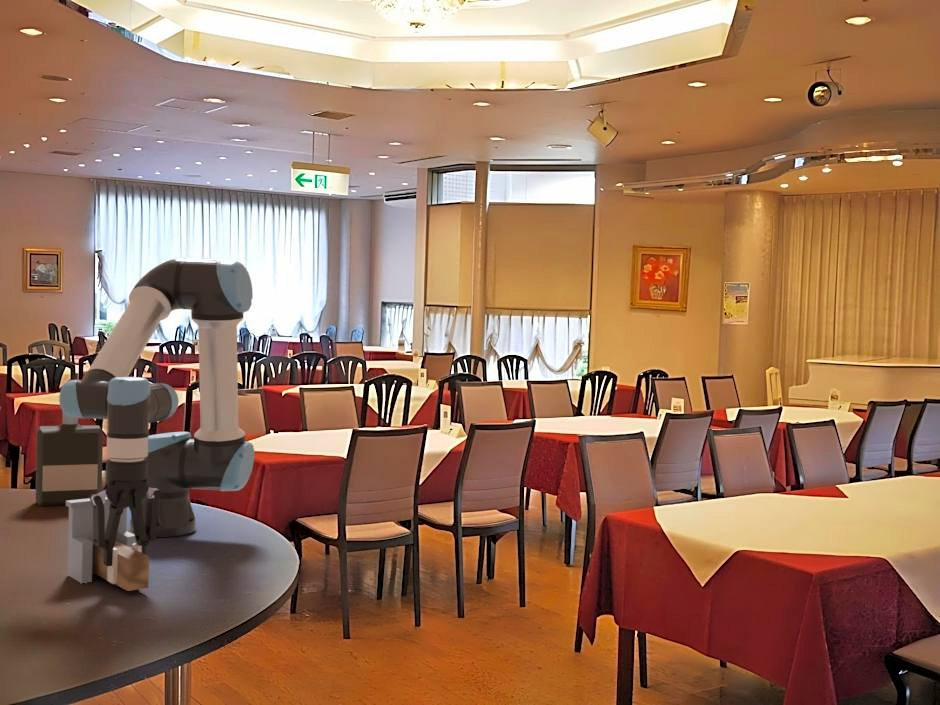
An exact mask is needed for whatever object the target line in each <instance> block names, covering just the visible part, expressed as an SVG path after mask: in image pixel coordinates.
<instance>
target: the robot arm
mask: <svg viewBox="0 0 940 705" xmlns="http://www.w3.org/2000/svg"><path fill="white" fill-rule="evenodd" d="M253 296H254V295H253V284H252V280H251V277H250V274H249V271H248V270H247V267H245V265H244V264H243V263H241V262H240V261H238V260H237V261H236V260H229V259H223V258H220V259H218V258H217V259H214V258H211V259H210V258H207V259H205V258H184V257H182V258H181V257H179V258H173V259H169V260H166V261H164V262H162V263H161V264H158V265H157V266H155V267H153V268H152V269H151V270H149V271H148V272H147V273H145V275H143V276H142V277H141V278H140V279H139V280H138V281H137V283H136V284H135V285H134V286H133V288H132V289H131V291H130V293H129V296H128V302H129V304H128V305H127V307H126V309H125V310H124V312H122V315H121V317H119V320H118V321H117V323H116V324H115V326H114V327H113V329H112V331H111V333H110V334H109V335H108V337H107V339H106V340H105V342H104V344H103V345H102V347H101V349H100V350H99V352H98V353H97V355H96V357H95V359H94V360H93V362H92V363H91V365H90V366H89V368H88V370H87V372H86V373H85V374H84V376H83V378H81V379H71V380H68V381H66V382H64V384H63V385H62V387H61V389H60V392H59V395H58V396H59V401H58V402H59V407H60V408H61V411H62V414H63V413H64V414H65V415H67V416H70V417H77V418H78V419H83V420H86V419H89V420H90V419H91V420H92V419H93V420H95V419H96V420H107V422H106V423H107V425H106V426H107V429H106V430H107V432H106V457H107V458H108V459H107V460H106V462H105V485H104V486H103V488H102V492H100V493H98V494H96V495H95V494H91V495H90V500H91V503H92V505H93V543H94V545H96V546H98V547H100V548H103V550H104V552H103V563H104V565H106V566H108V570H107V580H106V582H109V583H110V584H112V585H115V584H117V561H118V549H116V548H114V545H115V540H116V536H117V531H118V527H119V522H120V517H121V514H122V513H123V509H124V508H127V509H129V510H130V516H131V518H130V519H129V527H128V528H129V529H128V530H129V531H128V532H130V533H132V534H134V535H135V539H136V542H137V544H136V543H134V544H132V549H135V550H137V551H139V552H141V553H144V554H146V552H147V546H148V545H150V542H152V541H156V538H168V537H177V536H178V537H179V536H184V535H188V534H191V533H193V532H195V531H196V529H197V520H196V516H195V513H194V510H193V507H192V503H191V500H190V489H193V490H207V491H208V490H209V491H220V492H236V491H240V490H241V489H243V488H244V487H245V486H246V484H247V483H248V481H249V479H250V477H251V475H252V471H253V467H254V463H255V462H254V461H255V448H254V445H253V443H252V442H249V441H246V432H245V431H244V430H243V429H242V428H241V427H240V426H239V395H238V394H239V393H238V392H239V388H238V387H239V386H238V384H239V383H238V379H239V378H238V325H239V324H240V323H241V322H242V321H243V320H244V313H246V312H248V311H250V308H251V306H252V301H253ZM175 310H190V312H191V313H190V314H191V317H190V318H191V320H192V321H193V322H194V323H195V325H197V327H198V362H199V364H198V365H199V366H198V368H199V369H198V371H199V373H198V375H199V412H200V413H199V414H200V415H199V416H200V425H199V428H198V430H197V431H195V432H194V434H193V438H192V434H191V432H189V431H174V432H164V433H156V434H151V435H149V427H150V424H151V423H156V422H162V421H165V420H166V419H169V418H171V417H172V416H173V415H175V413H176V411H178V410H177V409H178V406H179V396H178V394H177V391H176V390H175V388H173V387H172V386H171V385H169V384H166V383H162V382H153V383H150V382H149V379H147V378H146V377H141V376H138V377H137V376H129V375H130V374H131V373H132V370H133V369H134V367H135V365H136V364H137V361H138V360H139V358H140V357H141V355H142V353H143V352H144V350H145V348H146V346H147V344H148V343H149V341H150V340H151V338H152V336H153V334H154V333H155V331H156V329H157V327H158V325H159V324H160V322H161V321H163V320H165V319H167V318H168V317H169V316H170V314H171V312H173V311H175ZM106 497H107V498H108V499H109V501H110V502H111V503H110V507H109V511H110V513H109V517H108V522H107V526H106V531H105V512H104V503H105V498H106ZM146 555H147V554H146Z"/></svg>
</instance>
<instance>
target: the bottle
mask: <svg viewBox="0 0 940 705" xmlns="http://www.w3.org/2000/svg"><path fill="white" fill-rule="evenodd" d="M103 444H104V431H103V429H102V428H101V427H100V425H95V424H94V425H81V424H80V423H79V418H77V417H70V416H67V415H65V414H64V413H63V412H62V422H61V423H60V425H39V427H38V428H37V429H36V450H35V451H36V454H35V456H36V458H35V460H36V462H35V463H36V464H35V468H36V469H35V502H36V504H37V505H38V507H47V506H49V507H51V506H66V501H68V500H78V499H87V498H90V495H91V494H95V495H96V494H98V493H100V492H102V491H103V459H104V458H103V455H104V454H103V453H104V452H103V451H104V450H103V449H104V445H103Z"/></svg>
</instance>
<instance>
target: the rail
mask: <svg viewBox="0 0 940 705" xmlns="http://www.w3.org/2000/svg"><path fill="white" fill-rule="evenodd" d="M114 548H116V549H118V561H117V584H114V585H116V586H117V587H120V588H121V589H123V590H125V591H127V592H128V591H129V592H130V591H135V590H143V589H148V588H149V584H150V583H149V580H150V579H149V577H150V576H149V574H150V572H149V571H150V555H148V554H144V553H141V552H139V551H137V550H135V549H132V548H130V547H128V546H126V545H124V544H121V543H119V542H117V541H115V545H114ZM103 552H104V550H103V548H100V547H98V546H96V545H94V543H93V564H92V572H93V573H95V575H97V576H98V577H101V578H102V579H104V580H106V581H107V570H108V566H106V565H104V563H103Z"/></svg>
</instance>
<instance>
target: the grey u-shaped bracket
mask: <svg viewBox="0 0 940 705" xmlns="http://www.w3.org/2000/svg"><path fill="white" fill-rule="evenodd" d="M110 503H111V502H110V501H109V499H108V498H107V497H106V498H105V503H104V512H105V531H106V526H107V522H108V517H109V513H110V511H109V507H110ZM65 506H66V507H67V508H68V524H67V526H68V527H67V528H68V530H67V531H68V535H67V575H68V576H70V577H72V578H74V579H75V580H77V581H78V582H77V581H76V582H77V583H79V582H80V583H79V584H81V583H85V584H88V583H87V582H91V583H92V582H93V575H92V574H95V573H93V572H92V564H93V505H92V503H91V500H90V498H87V499H78V500H68V501H66V505H65ZM127 516H128V507H127V508H124V509H123V513H122V514H121V517H120V522H119V527H118V531H117V536H116V540H115V541H117V542H119V543H121V544H124V545H126V546H128V547H130V548H132V544H134V543H136V544H137V542H136V539H135V534H132V533H131V532H130V531H127V520H128V519H127ZM95 575H96V574H95ZM68 576H67V577H68ZM70 577H69V578H70ZM72 578H71V579H72ZM74 579H73V580H74ZM75 580H74V581H75Z"/></svg>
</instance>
